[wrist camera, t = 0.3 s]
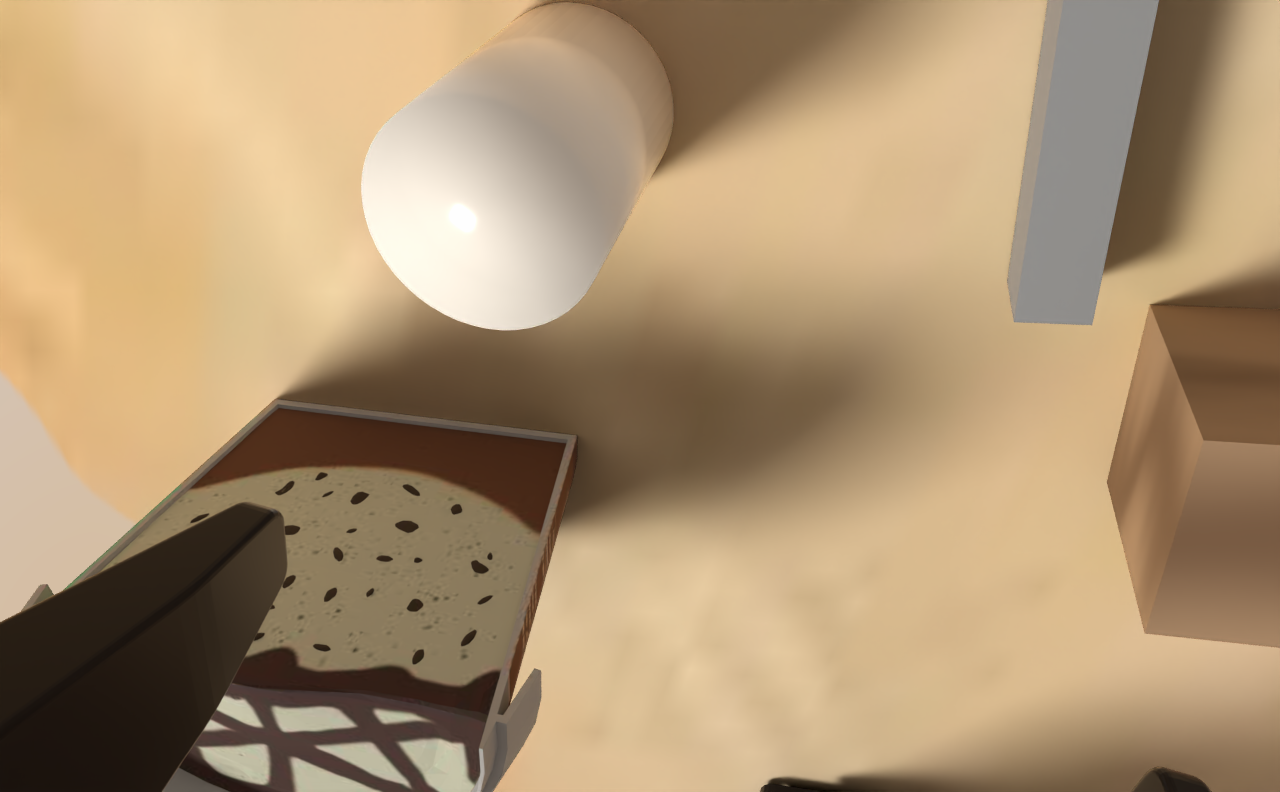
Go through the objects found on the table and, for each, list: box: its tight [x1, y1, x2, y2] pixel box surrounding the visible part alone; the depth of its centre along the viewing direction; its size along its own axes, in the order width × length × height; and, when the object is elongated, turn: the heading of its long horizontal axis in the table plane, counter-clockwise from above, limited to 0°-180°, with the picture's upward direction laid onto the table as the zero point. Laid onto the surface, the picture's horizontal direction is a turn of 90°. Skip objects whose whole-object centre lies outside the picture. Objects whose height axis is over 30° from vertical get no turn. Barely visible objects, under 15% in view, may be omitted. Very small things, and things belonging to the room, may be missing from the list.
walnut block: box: [1107, 305, 1280, 648], centre depth 20 cm, size 5×5×5 cm
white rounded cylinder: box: [361, 2, 674, 330], centre depth 19 cm, size 4×4×6 cm
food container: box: [22, 399, 577, 792], centre depth 26 cm, size 12×6×10 cm, turn 92°
